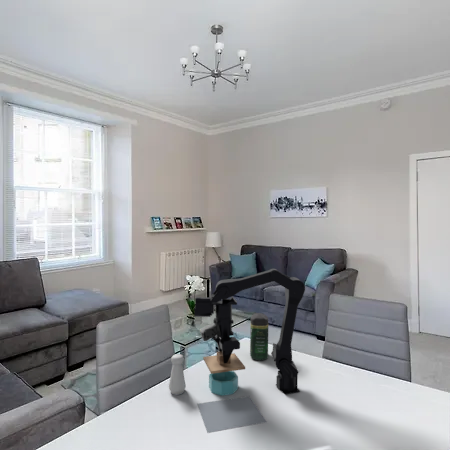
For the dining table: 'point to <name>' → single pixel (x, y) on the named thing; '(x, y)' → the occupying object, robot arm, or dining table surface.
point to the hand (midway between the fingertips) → (223, 360)
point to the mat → (230, 414)
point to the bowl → (223, 383)
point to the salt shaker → (177, 375)
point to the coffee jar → (259, 336)
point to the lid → (218, 365)
